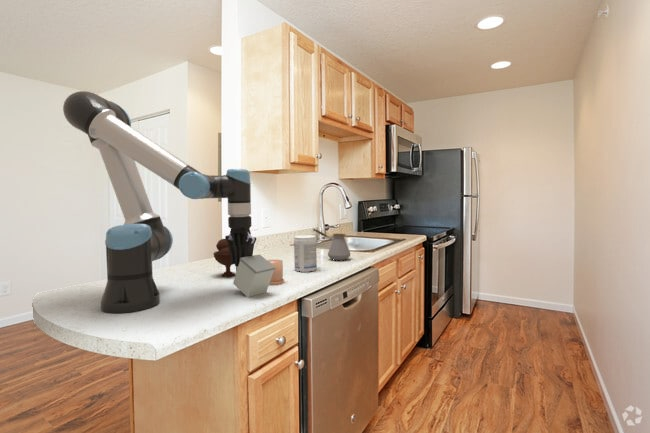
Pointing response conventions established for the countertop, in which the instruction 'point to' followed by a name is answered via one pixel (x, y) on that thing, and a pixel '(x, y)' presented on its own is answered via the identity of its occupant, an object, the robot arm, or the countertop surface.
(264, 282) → the grey tub
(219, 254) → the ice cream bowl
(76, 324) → the countertop surface
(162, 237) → the robot arm
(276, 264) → the terracotta pot
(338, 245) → the coffee pot
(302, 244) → the supplement tub
